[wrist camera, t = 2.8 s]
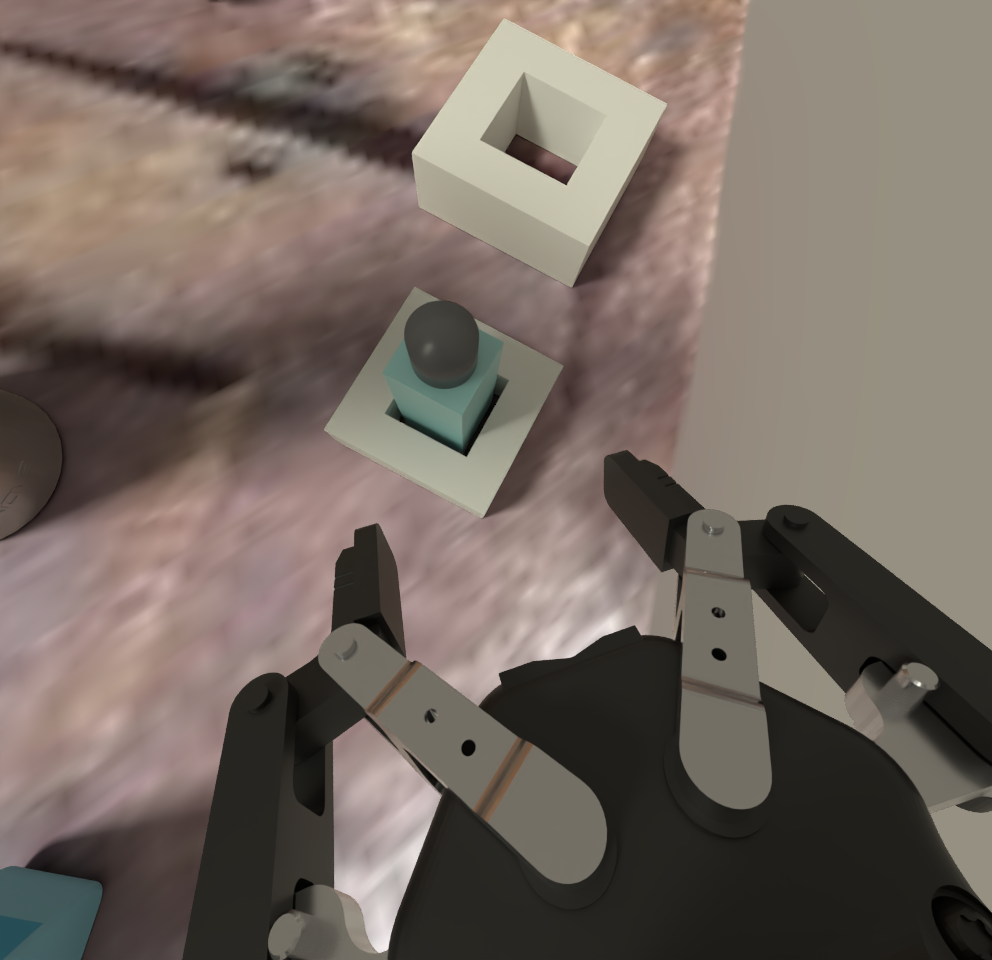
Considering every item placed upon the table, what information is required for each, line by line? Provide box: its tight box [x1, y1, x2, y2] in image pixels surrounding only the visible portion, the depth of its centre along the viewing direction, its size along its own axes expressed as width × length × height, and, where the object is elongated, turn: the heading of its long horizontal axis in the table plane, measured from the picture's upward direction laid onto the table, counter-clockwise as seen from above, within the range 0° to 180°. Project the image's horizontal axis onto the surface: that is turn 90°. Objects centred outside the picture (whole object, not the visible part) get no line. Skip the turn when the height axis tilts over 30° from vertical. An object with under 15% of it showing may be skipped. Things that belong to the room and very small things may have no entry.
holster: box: [324, 287, 563, 519], centre depth 25 cm, size 10×10×3 cm
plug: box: [382, 301, 504, 455], centre depth 21 cm, size 4×4×10 cm
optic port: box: [412, 18, 667, 288], centre depth 27 cm, size 12×12×4 cm
